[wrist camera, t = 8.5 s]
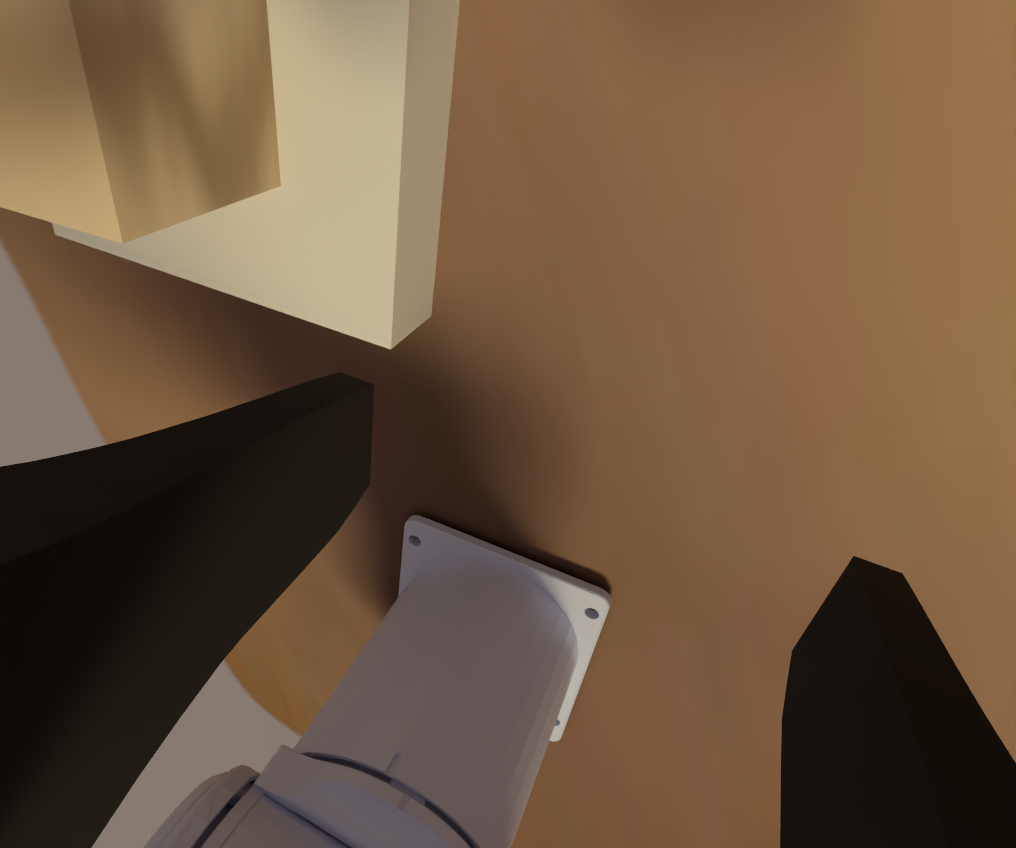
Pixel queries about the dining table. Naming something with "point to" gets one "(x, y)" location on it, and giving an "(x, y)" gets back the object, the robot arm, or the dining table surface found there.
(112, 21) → the maple cube
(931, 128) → the dining table surface
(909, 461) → the dining table surface
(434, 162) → the beige block
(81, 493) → the robot arm
